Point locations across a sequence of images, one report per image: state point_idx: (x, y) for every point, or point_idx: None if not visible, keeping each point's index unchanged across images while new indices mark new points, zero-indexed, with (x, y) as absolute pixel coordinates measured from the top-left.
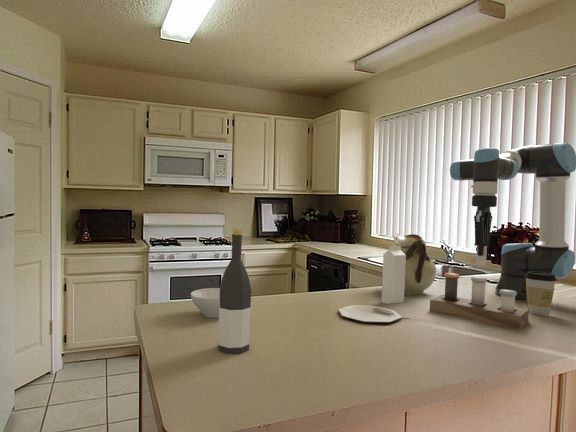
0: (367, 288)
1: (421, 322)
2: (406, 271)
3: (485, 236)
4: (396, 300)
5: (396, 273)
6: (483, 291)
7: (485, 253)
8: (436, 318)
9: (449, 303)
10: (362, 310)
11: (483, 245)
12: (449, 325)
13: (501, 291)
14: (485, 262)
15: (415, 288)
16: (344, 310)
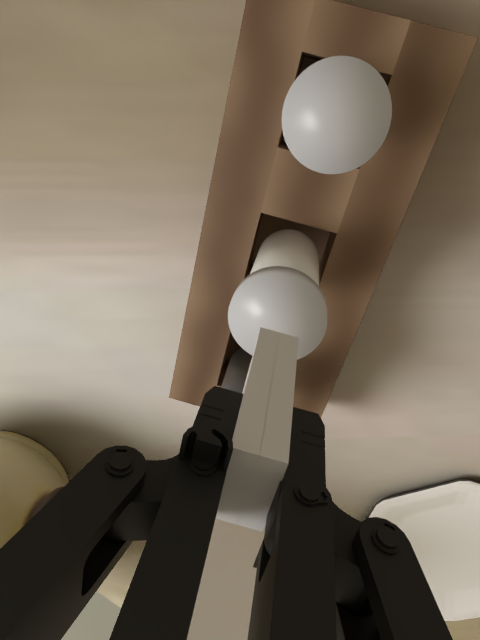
0: None
1: (461, 419)
2: None
3: (286, 603)
4: None
5: (241, 615)
6: (306, 261)
7: (285, 402)
8: (372, 377)
9: (339, 371)
10: None
11: (325, 497)
12: (460, 334)
13: (363, 163)
14: (276, 346)
15: (57, 474)
16: (447, 607)
